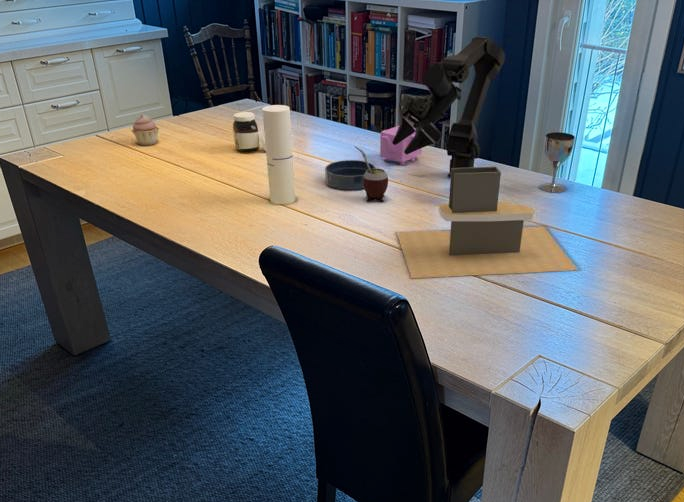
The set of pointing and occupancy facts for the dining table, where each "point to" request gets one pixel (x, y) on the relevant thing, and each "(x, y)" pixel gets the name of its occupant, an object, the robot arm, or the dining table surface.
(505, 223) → the architectural model
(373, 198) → the mate gourd
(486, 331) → the dining table surface
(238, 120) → the spread jar
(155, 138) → the cupcake
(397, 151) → the teapot
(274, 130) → the cylindrical container
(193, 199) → the dining table surface
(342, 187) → the large metal bowl
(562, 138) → the metal goblet
